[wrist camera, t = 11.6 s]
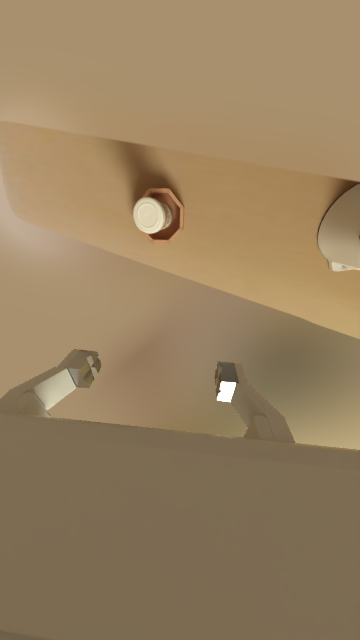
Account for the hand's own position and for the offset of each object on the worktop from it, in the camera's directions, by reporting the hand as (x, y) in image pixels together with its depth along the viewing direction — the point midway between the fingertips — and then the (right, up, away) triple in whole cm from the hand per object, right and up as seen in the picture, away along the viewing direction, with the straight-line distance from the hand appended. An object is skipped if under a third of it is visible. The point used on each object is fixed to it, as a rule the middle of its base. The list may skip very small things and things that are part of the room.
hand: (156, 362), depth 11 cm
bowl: (-2, +25, +25) cm, 35 cm away
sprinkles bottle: (-2, +25, +24) cm, 35 cm away
